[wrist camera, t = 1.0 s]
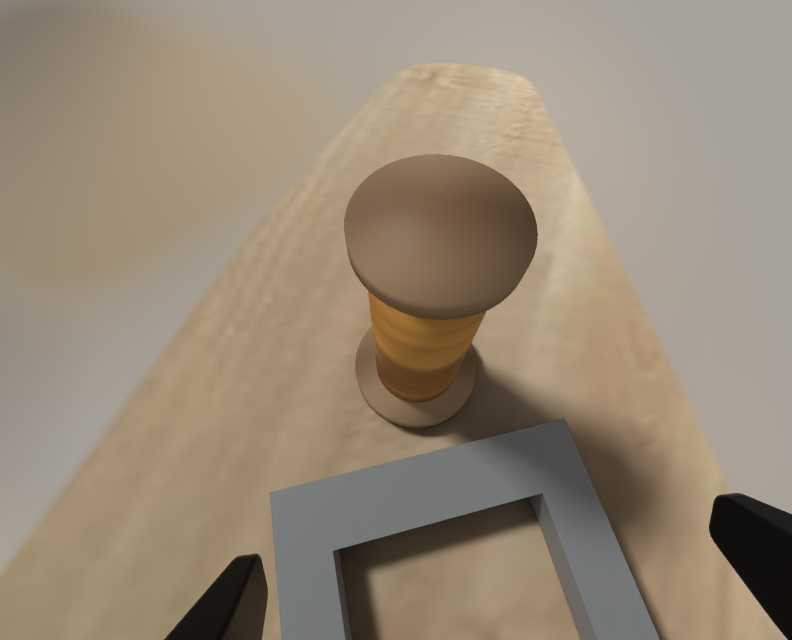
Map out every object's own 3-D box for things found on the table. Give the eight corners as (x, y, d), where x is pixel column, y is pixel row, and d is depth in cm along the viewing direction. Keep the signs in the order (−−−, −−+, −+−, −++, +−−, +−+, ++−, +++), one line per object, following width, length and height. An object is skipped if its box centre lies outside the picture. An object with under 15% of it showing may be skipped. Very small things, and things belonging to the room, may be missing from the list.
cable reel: (490, 412, 22) (606, 300, 10) (369, 441, 21) (342, 357, 9) (453, 307, 25) (509, 125, 13) (347, 329, 24) (304, 157, 12)
